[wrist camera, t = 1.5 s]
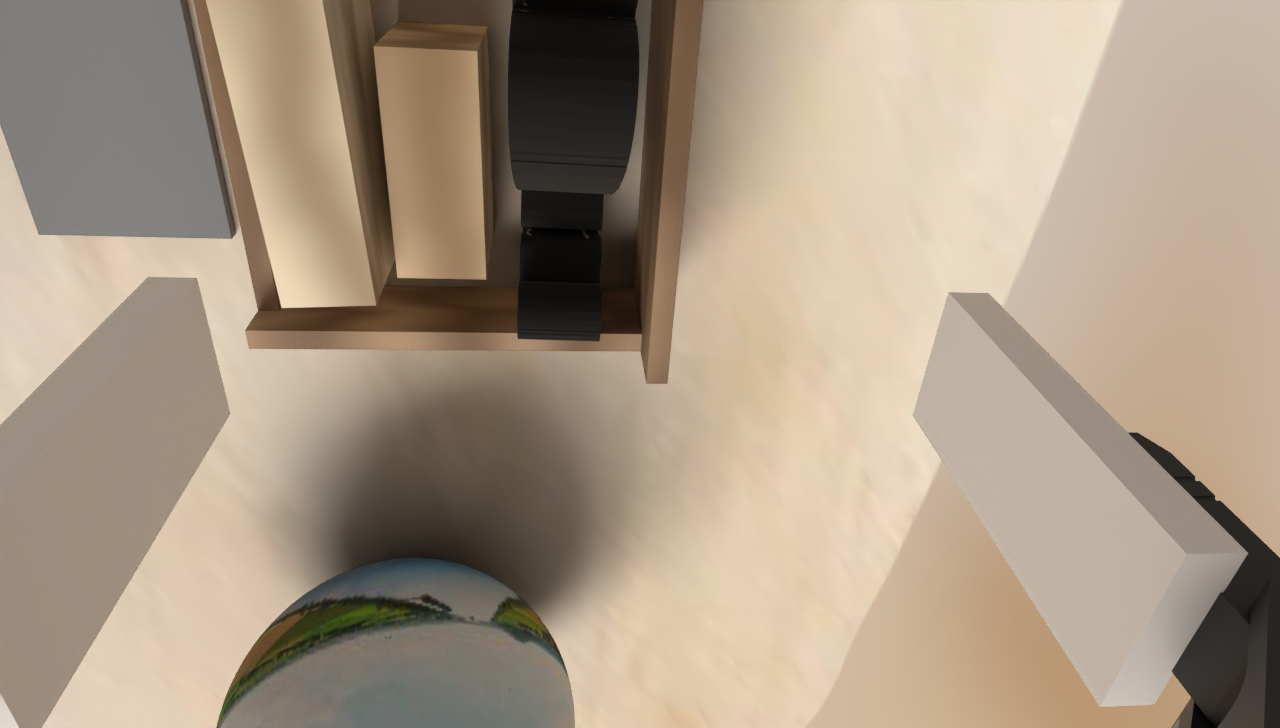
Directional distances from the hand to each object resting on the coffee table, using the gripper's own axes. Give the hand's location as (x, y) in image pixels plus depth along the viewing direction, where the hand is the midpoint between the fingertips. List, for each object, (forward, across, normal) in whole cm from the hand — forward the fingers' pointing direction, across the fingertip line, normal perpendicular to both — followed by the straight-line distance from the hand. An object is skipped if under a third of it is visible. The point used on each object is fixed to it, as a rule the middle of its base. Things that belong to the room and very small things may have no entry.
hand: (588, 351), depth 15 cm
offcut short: (+28, -6, -4) cm, 28 cm away
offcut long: (+28, -11, -2) cm, 30 cm away
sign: (+28, 0, 0) cm, 28 cm away
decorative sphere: (+28, -9, -36) cm, 47 cm away
